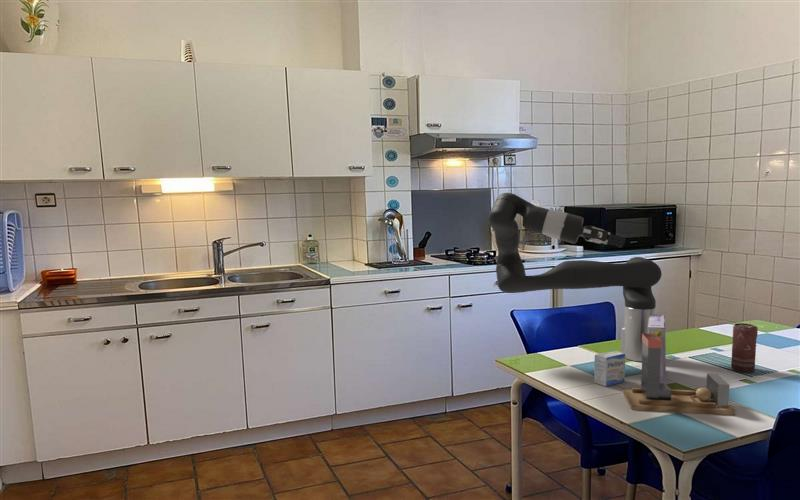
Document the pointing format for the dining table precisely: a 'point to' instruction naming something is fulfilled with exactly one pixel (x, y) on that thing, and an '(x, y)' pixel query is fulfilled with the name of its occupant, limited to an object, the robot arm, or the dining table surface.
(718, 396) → the grey stop block
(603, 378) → the medicine box
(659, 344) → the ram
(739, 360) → the can
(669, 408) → the board
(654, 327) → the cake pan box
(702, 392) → the walnut
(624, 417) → the dining table surface
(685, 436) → the dining table surface
